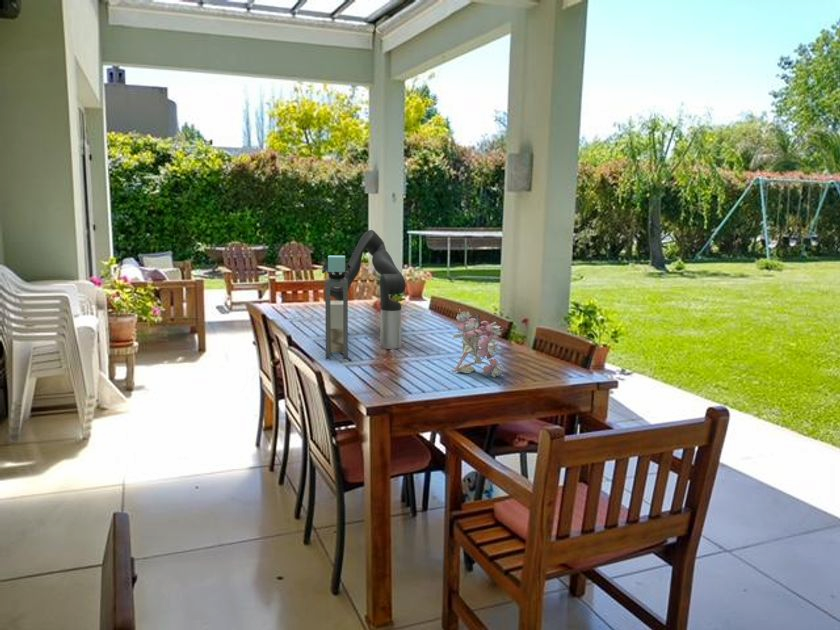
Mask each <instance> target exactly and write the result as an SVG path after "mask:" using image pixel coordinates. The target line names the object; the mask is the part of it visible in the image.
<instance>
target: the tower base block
mask: <svg viewBox="0 0 840 630" xmlns="http://www.w3.org/2000/svg"><path fill="white" fill-rule="evenodd" d="M331 352H333V353H343V329H331Z"/></svg>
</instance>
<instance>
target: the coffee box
mask: <svg viewBox="0 0 840 630" xmlns="http://www.w3.org/2000/svg"><path fill="white" fill-rule="evenodd" d="M469 314H470V317H469V319H470V318H475V319H476V321H477V322H478V323H479V325H478V327H477V330H478V329H479V328H480V327H481V324H480V323H481V321H480V320H481V314H472V313H469ZM468 331H469V330H467V329H466V327H465V331H462V334H465V333H466V332H468ZM475 335H477V333H475V334H474V336H475ZM467 337H468V336H467ZM462 340H464V341H466V340H465V339H464V338H463V337H462ZM468 340H469V337H468ZM472 343H473V342H471V345H472ZM477 345H478V341H476V342H474V344H473V346H472V347H474V346H477ZM465 346H466V344H465V343H462V352H463V351H464V348H465ZM478 349H480V347H479V346H477V347H475V348H473V350H474V351H470V352H469V353H468V354H472V353H473V352H475V353H476V354H478V353H477V351H478Z"/></svg>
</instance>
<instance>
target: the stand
mask: <svg viewBox="0 0 840 630" xmlns="http://www.w3.org/2000/svg"><path fill="white" fill-rule="evenodd" d="M324 285H325V286H324V287H325V289H324V290H325V294H324V295H325V297H324V298H325V301H324V302H325V360H326V359H330V360H331V354H332V353H331V308H330V301H331V296H330V287H343V352H342V353H343V354H342V355H343V357H342V358H343V359H346V360H349V359H348V357H349V353H348V352H349V347H348V346H349V345H348V344H349V328H348V327H349V326H348V325H349V324H348V323H349V317H348V316H349V308H348V307H349V301H348V300H349V298H348V297H349V291H348V279H329V278H327V279H325V284H324Z"/></svg>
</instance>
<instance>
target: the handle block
mask: <svg viewBox="0 0 840 630" xmlns="http://www.w3.org/2000/svg"><path fill="white" fill-rule="evenodd" d="M327 263H328V272H345V263H346V255H328V256H327Z"/></svg>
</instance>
